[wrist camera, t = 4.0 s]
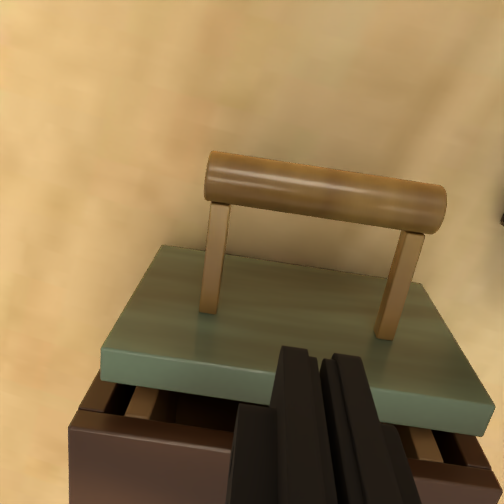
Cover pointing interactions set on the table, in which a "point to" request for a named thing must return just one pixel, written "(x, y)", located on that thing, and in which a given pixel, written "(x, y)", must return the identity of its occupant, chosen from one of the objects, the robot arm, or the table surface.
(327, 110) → the table surface
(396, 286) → the drawer
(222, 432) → the cabinet
